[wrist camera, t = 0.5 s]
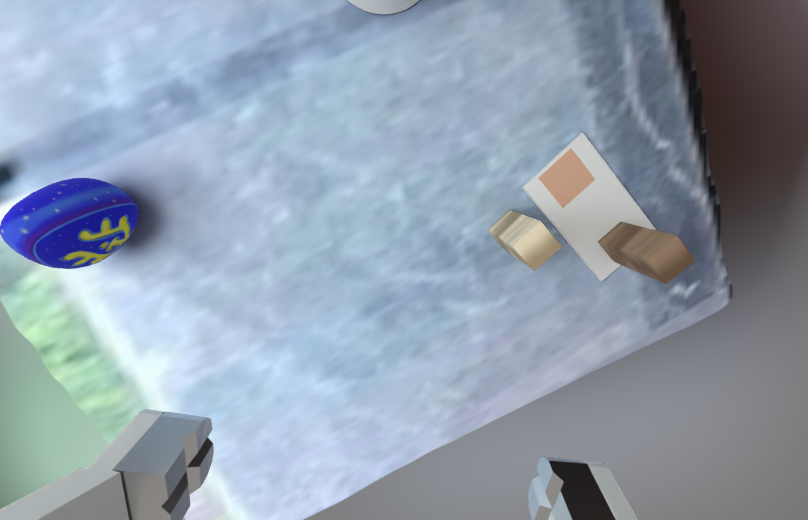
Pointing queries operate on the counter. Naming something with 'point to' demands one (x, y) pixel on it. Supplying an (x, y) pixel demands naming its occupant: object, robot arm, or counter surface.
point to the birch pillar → (524, 238)
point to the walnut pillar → (647, 251)
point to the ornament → (70, 223)
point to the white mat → (584, 202)
